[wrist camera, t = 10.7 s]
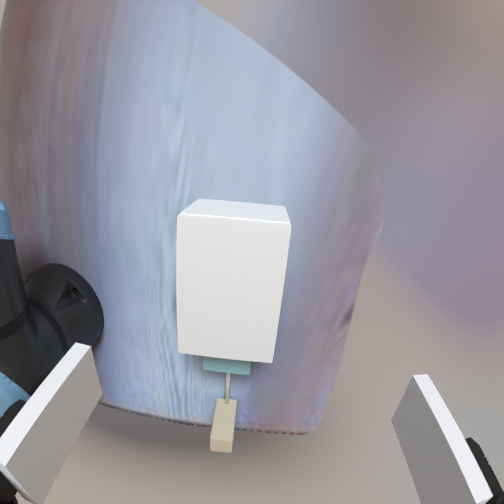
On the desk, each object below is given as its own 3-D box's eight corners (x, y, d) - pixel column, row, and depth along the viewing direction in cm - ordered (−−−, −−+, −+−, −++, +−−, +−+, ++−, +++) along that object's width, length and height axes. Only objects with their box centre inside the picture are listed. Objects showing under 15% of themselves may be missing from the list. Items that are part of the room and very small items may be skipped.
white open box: (195, 310, 43) (178, 352, 33) (198, 198, 38) (177, 215, 28) (270, 318, 43) (272, 363, 33) (284, 206, 38) (291, 225, 28)
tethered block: (208, 409, 48) (200, 449, 40) (210, 308, 42) (198, 345, 34) (244, 413, 48) (240, 453, 40) (255, 312, 42) (253, 351, 33)
